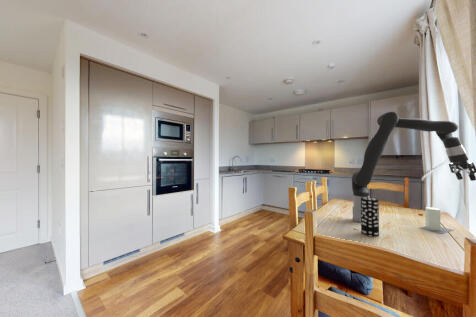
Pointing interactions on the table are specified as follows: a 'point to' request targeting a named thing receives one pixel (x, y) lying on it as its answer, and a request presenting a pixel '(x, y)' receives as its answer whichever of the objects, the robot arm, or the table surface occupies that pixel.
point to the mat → (444, 230)
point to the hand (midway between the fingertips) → (466, 179)
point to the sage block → (433, 219)
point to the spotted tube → (370, 216)
